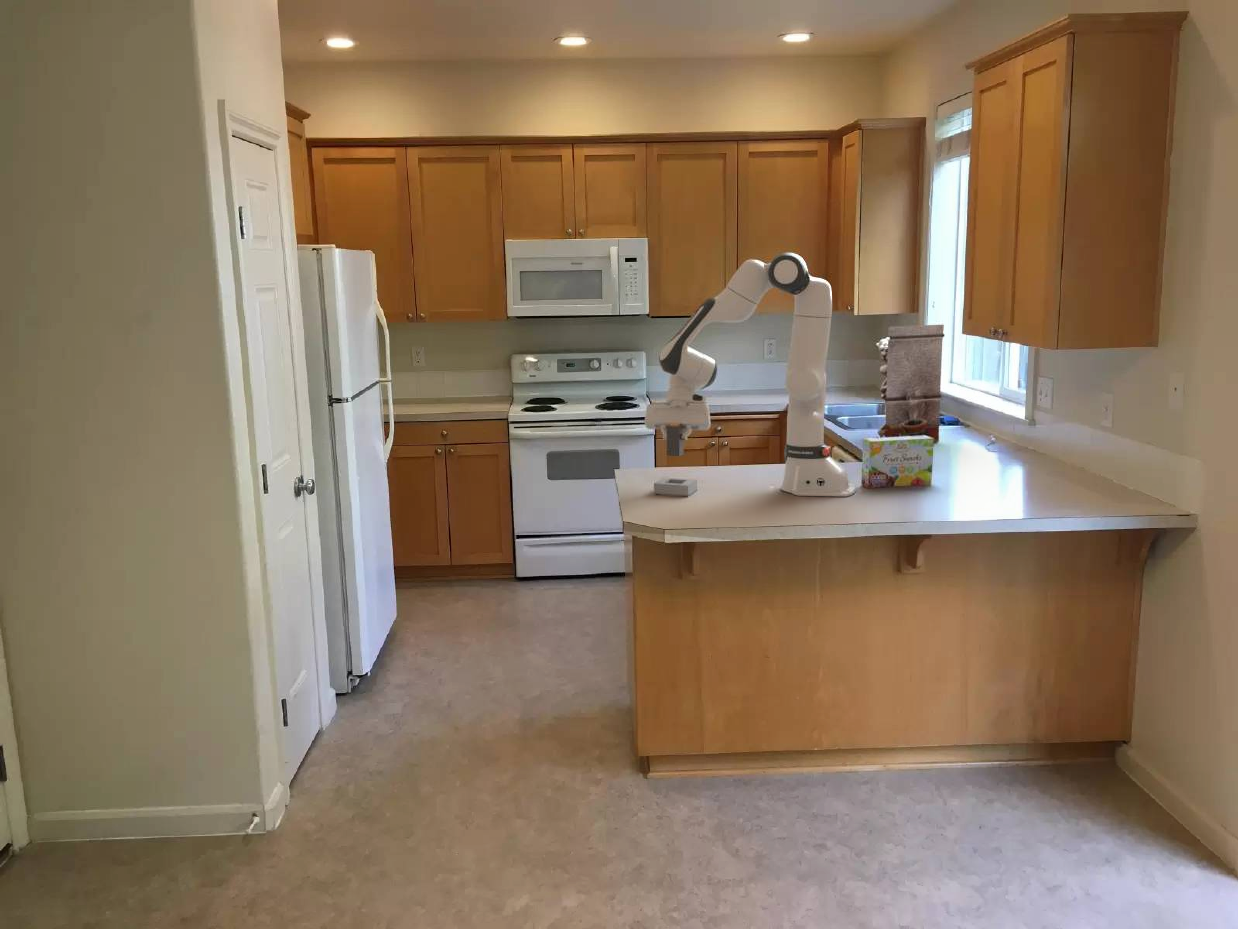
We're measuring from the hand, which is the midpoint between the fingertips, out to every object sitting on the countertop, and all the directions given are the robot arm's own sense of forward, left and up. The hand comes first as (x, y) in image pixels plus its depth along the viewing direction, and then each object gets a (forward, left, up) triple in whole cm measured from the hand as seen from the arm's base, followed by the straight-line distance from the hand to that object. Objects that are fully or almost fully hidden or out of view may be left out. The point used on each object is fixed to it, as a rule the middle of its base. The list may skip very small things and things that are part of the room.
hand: (674, 439), depth 286 cm
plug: (0, -1, -5) cm, 5 cm away
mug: (-61, -65, -17) cm, 91 cm away
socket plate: (0, -1, -17) cm, 17 cm away
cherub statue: (-55, -109, -17) cm, 124 cm away
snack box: (-62, -30, -17) cm, 71 cm away
